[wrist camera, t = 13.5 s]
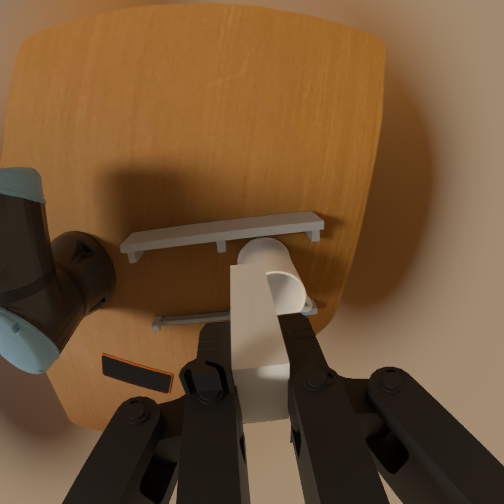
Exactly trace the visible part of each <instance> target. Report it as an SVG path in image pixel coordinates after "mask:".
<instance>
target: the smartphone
mask: <svg viewBox="0 0 504 504" xmlns="http://www.w3.org/2000/svg"><path fill="white" fill-rule="evenodd" d="M101 365H102V374H103V375H105V376H108V377H111V378H114V379H117V380H120V381H123V382H126V383H130V384H133V385H136V386H140V387H143V388H147V389H151V390H155V391H158V392H162V393H166V394H169V393H170V389H171V384H172V379H173V374H171V373H168V372H164V371H160V370H156V369H153V368H149V367H146V366H142V365H139V364H135V363H132V362H130V361H127V360H123V359H121V358H118V357H114V356H110V355H107V354H105V353H102V354H101Z"/></svg>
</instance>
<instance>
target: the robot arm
mask: <svg viewBox="0 0 504 504" xmlns="http://www.w3.org/2000/svg"><path fill="white" fill-rule="evenodd" d="M45 204H46V201H45V199H44V195H43V188H42V180H41V176H40V174H39V172H38V171H37V170H36V169H34V168H30V167H13V168H0V354H1V355H2V356H3V357H4V358H5V359H7V360H8V361H9V362H11V363H12V364H13V365H14V366H16V367H18V368H20V369H21V370H23V371H26V372H29V373H33V374H41V373H44V372H46V371H47V370H48V369H49V368H50V367H51V365H52V364H53V363H54V361H55V360H57V359H58V358H59V356H60V354H61V352H62V350H63V349H64V347H65V345H66V344H67V342H68V341H69V339H70V337H71V336H72V334H73V333H74V331H75V330H76V328H77V327H78V325H79V324H80V322H81V321H82V319H83V318H84V317H86V316H87V315H89V314H91V313H93V312H95V311H97V310H99V309H100V308H102V307H103V306H104V305H105V304H106V303H107V301H108V300H109V298H110V297H111V295H112V293H113V291H114V287H115V272H114V268H113V264H112V262H111V260H110V258H109V256H108V254H107V252H106V251H105V250H104V248H103V247H102V246H101V245H100V244H99V243H98V242H97V241H96V240H95V239H93V238H92V237H90V236H89V235H87V234H84V233H81V232H76V231H70V232H66V233H63V234H61V235H60V236H58V237H57V238H55V239H54V240H53V241H52V242H51V243H50V237H49V231H48V224H47V217H46V209H45ZM230 305H231V321H226V322H214V323H206V324H205V326H204V327H203V328H202V330H201V331H200V335H199V343H198V351H197V359H195V360H193V361H191V362H188V363H187V364H186V365H185V366H184V367H183V368H182V369H181V371H180V374H179V378H180V380H181V383H182V386H183V388H184V391H185V393H186V394H185V395H184V396H182V397H180V398H178V399H176V400H173V401H169V402H165V403H161V404H157V403H156V402H155V401H154V400H152V399H150V398H148V397H140V396H138V397H134V398H130V399H128V400H126V401H125V402H123V403H122V404H121V405H120V406H119V408H118V409H117V411H116V412H115V414H114V415H113V417H112V419H111V420H110V422H109V424H108V425H107V427H106V429H105V430H104V432H103V434H102V435H101V437H100V439H99V440H98V442H97V444H96V445H95V447H94V449H93V450H92V452H91V454H90V456H89V457H88V459H87V461H86V462H85V464H84V466H83V467H82V469H81V471H80V473H79V475H78V476H77V478H76V480H75V481H74V483H73V485H72V487H71V488H70V490H69V492H68V494H67V496H66V497H65V499H64V501H63V503H62V504H169V501H170V499H171V496H172V494H173V491H174V488H175V485H176V483H177V480H178V486H177V500H176V504H250V493H249V484H248V483H249V482H248V471H247V460H246V447H245V437H244V433H243V424H245V423H256V422H265V421H273V420H280V419H287V418H289V416H290V421H291V441H290V442H291V443H292V442H293V445H294V450H295V455H296V460H297V465H298V470H299V475H300V480H301V485H302V490H303V495H304V500H305V504H390V503H389V501H388V498H387V495H386V492H385V490H384V487H383V484H382V482H381V479H380V477H379V474H378V472H379V473H380V474H381V475H382V477H383V478H384V480H385V481H386V482H387V483H388V485H389V486H390V487H391V489H392V490H393V491H394V493H395V494H396V495H397V496H398V498H399V499H400V500H401V501H402V503H403V504H504V466H503V465H502V464H501V463H500V462H499V461H498V460H497V459H496V458H495V457H494V456H493V455H492V454H491V453H490V452H489V451H488V450H487V449H486V448H485V447H484V446H483V445H482V444H481V443H480V442H479V441H478V440H477V439H476V438H475V437H474V436H473V435H472V434H471V433H470V432H469V431H468V430H467V429H466V428H464V426H463V425H462V424H460V423H459V422H458V421H457V420H456V419H455V418H454V417H453V416H452V415H451V414H450V413H449V412H448V411H447V410H446V409H445V408H444V407H443V406H442V405H441V404H440V403H439V402H438V401H437V400H436V399H434V398H433V397H432V396H431V395H430V394H429V393H428V392H427V391H426V390H425V389H424V388H423V387H422V386H421V385H420V384H419V383H418V382H417V381H416V380H414V379H413V378H412V377H411V376H410V375H409V374H408V373H407V372H405V371H403V370H402V369H399V368H396V367H383V368H380V369H377V370H376V371H375V372H374V373H372V375H371V377H370V379H351V378H345V377H342V376H339V375H338V374H337V373H336V372H335V371H334V370H332V369H331V368H329V366H328V365H327V362H326V360H325V358H324V355H323V353H322V350H321V348H320V345H319V343H318V341H317V339H316V337H315V333H314V331H313V330H312V326H311V324H310V321H309V319H308V318H306V317H305V316H304V315H303V314H302V313H300V312H297V313H290V314H282V315H277V314H276V310H275V306H274V302H273V299H272V295H271V291H270V287H269V284H268V280H267V276H266V273H265V269H264V265H263V262H259V263H249V264H240V265H230ZM377 470H378V471H377Z"/></svg>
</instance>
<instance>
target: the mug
mask: <svg viewBox="0 0 504 504" xmlns="http://www.w3.org/2000/svg"><path fill="white" fill-rule="evenodd" d="M259 262H263V265H264V269H265V273H266V276H267V280H268V284H269V287H270V291H271V295H272V299H273V302H274V306H275V310H276V314H277V315H282V314H290V313H297V312H309V311H310V310H311V309H312V306H313V305H312V301H311V300H310V298H309V297H308V295H307V294H306V290H305V287H304V285H303V283H302V281H301V279H300V277H299V275H298V273H297V271H296V269H295V267H294V265H293V263H292V261H291V259H290V255H289V252H288V250H287V248H286V247H285V246H284V244H282V243H281V242H280V241H278V240H276V239H274V238H270V237H260V238H256V239H253V240H251V241H250V242H248V243H247V244H246V245H245V246H244V247H243V248H242V249H241V251H240V253H239V256H238V260H237V265H240V264H249V263H259ZM305 302H306V303H307V305H308V306H304V305H305Z"/></svg>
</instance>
